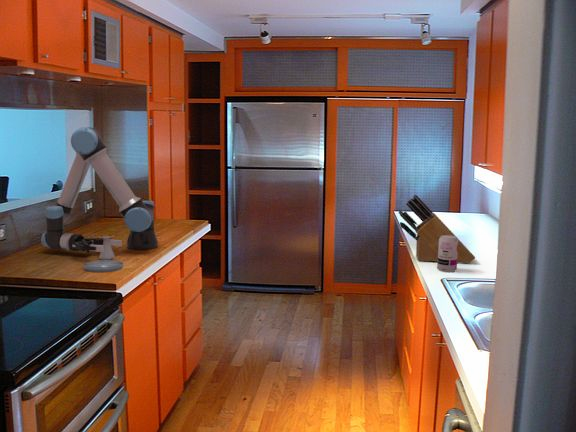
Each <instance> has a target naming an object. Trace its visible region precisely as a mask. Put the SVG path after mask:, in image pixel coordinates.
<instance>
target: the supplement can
mask: <svg viewBox="0 0 576 432" xmlns="http://www.w3.org/2000/svg"><path fill="white" fill-rule="evenodd" d="M457 238H458V236H456V235H455V236H451V235H442V236H441V237H440V239H439V246H438V261H436V262H437V266H436V268H437V270H438V271H440V272H443V273H454V272H455V271H457V269H458V268H457V267H458V262H457V255H458V239H459V238H458V239H457Z"/></svg>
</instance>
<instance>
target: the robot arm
mask: <svg viewBox="0 0 576 432" xmlns="http://www.w3.org/2000/svg"><path fill="white" fill-rule="evenodd" d="M70 145H71V148H72V149H73V150H74V151H75V157H74V158H73V159H74V160H73V162H72V164H71V167H70V170H69V172H68V175H67V177H66V178H65V179H66V180H65V183H64V185H63V187H62V190H61V193H60V195H59V198H58V200H57V203H56V205H51V206H47V207H46V209H45V224H46V225H45V226H46V227H45V228H46V230H45V232H43V233H42V234H41V237H40V241H41V242H40V243H41V244H42V245H43V247H45V248H48V249H57V250H58V249H59V250H66V251H67V252H69V251H75V252H76V251H77V252H79V251H81V252H82V253H83V252H86V253H88V254H89V253H90V252H95V253H96V252H99V253H101V252H104V249H103V237H101V238H99V237H96V238H95V237H90V238H89V237H87V238H86V237H84V236H83V235H82V234H78V233H67V232H65V229H64V227H65V225H64V224H65V223H66V222H68V221H69V220H70V218H71V216H72V212H73V208H74V206H75V203H76V200H77V198H78V197H79V193H80V190H81V189H82V186H83V184H84V181H85V179H86V176H87V173H88V172H89V169H90V166H91V167H92V169H93V170H94V171H95V173H96V174H97V176H98V177H99V179H100V180H101V182H102V184H103V185H104V186H105V187H106V189H107V190H108V192H109V194H110V195H111V196H112V198H113V199H114V201H115V202H116V204H117V205H118V206H119V209H118V212H119V214H120V215H121V217H122V218H123V220H124V224H125V226H126V227H127V229H129V234H128V237H127V240H126V248H127V249H129V250H130V249H131V250H150V249H151V250H152V249H156V248H158V246H159V241H158V238H157V235H156V232H155V203H154V201H153V200H143V199H142V198H141V197H137V196H136V195H135V194H134V192H133V190H132V189H131V188H130V186H129V185H128V183H127V181H126V180H125V179H124V178H123V175H121V173H120V172H119V170H118V168H117V166H115V164H114V162H113V161H112V160H111V158H110V157H109V155H108V154H107V146H106V145H105V144H104V141H103V136H102V134H101V132H100V131H99V130H98V129H96V128H94V127H85V126H83V127H80V128H78V129H76V130H75V131H74V132H73V133H72V135H71V136H70ZM122 241H123V240H120V239H112V238H111V237H110V245H111V247H112V246H113V247H123V243H122Z"/></svg>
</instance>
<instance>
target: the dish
mask: <svg viewBox="0 0 576 432" xmlns="http://www.w3.org/2000/svg"><path fill="white" fill-rule="evenodd" d="M82 267H83V270H84V271H85V272H90V273H110V272H111V273H113V272H117V271H120V270H122V269H124V262H122V261H120V260H114V259H111V260H101V259H98V260H91V261H88V262H85V263H84V264H83V265H82Z"/></svg>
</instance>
